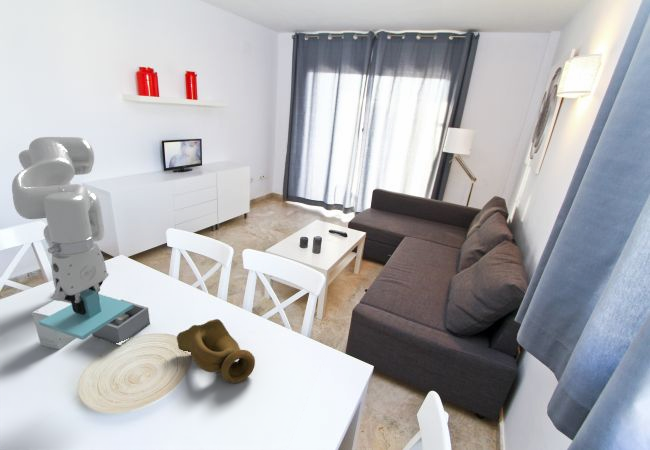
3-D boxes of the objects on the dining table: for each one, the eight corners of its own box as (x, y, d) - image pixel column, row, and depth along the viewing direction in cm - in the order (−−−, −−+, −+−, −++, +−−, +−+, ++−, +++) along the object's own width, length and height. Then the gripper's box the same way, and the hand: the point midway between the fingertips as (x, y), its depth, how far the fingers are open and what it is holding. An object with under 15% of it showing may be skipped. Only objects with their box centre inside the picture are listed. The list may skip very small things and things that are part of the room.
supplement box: (59, 350, 97) (50, 317, 93) (39, 345, 99) (30, 312, 94) (81, 334, 104) (74, 303, 100) (62, 330, 105) (54, 298, 101)
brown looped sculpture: (236, 313, 111) (262, 342, 94) (228, 347, 112) (252, 383, 94) (182, 312, 100) (200, 346, 82) (173, 350, 100) (188, 392, 83)
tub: (92, 335, 104) (88, 318, 102) (123, 315, 115) (121, 299, 113) (120, 345, 101) (117, 328, 99) (150, 323, 112) (148, 307, 110)
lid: (41, 329, 77) (32, 300, 74) (95, 299, 89) (90, 274, 86) (83, 344, 73) (76, 315, 70) (134, 311, 86) (130, 285, 83)
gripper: (47, 262, 65) (65, 332, 72) (117, 235, 80) (126, 296, 87) (22, 254, 67) (41, 324, 74) (95, 230, 82) (105, 289, 88)
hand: (87, 308), depth 80 cm, fingers closed on lid, 3 cm apart
